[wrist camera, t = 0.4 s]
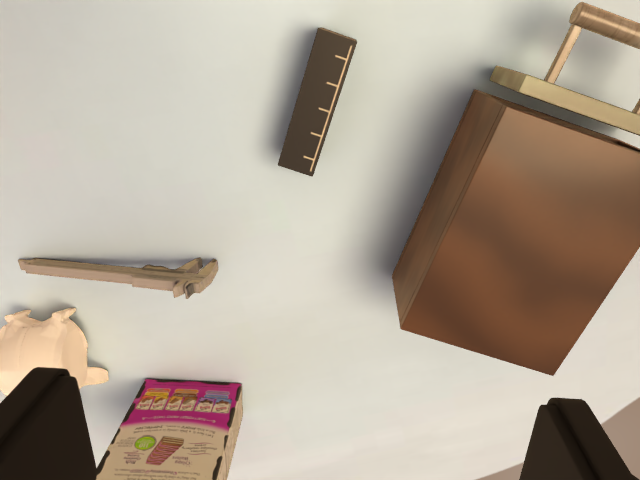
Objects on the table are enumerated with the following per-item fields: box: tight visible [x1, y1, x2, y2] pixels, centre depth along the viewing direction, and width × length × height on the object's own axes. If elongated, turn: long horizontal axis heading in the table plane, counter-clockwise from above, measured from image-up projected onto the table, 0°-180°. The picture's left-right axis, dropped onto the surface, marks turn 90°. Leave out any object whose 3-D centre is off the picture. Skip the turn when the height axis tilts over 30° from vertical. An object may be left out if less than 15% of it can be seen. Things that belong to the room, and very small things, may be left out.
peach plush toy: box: [0, 308, 109, 396], centre depth 51 cm, size 9×8×15 cm
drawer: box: [490, 2, 640, 144], centre depth 38 cm, size 23×12×7 cm, turn 162°
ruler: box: [278, 28, 357, 176], centre depth 39 cm, size 11×3×4 cm, turn 162°
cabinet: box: [392, 89, 640, 376], centre depth 40 cm, size 19×14×9 cm
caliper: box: [18, 258, 218, 299], centre depth 46 cm, size 20×1×6 cm, turn 92°
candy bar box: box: [96, 379, 243, 480], centre depth 48 cm, size 11×5×16 cm, turn 89°
